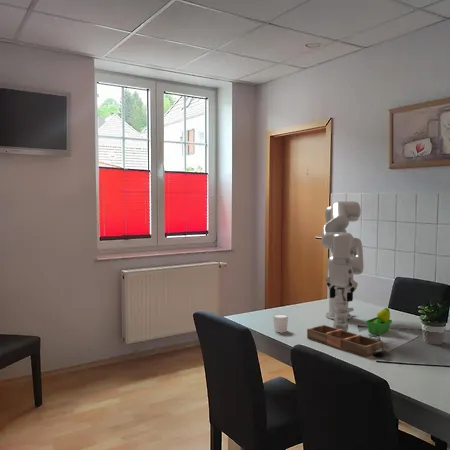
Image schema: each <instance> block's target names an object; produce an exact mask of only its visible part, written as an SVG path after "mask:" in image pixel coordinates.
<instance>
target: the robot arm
mask: <svg viewBox="0 0 450 450" xmlns="http://www.w3.org/2000/svg"><path fill="white" fill-rule="evenodd" d="M361 212H362V209H361V205H360V204H359V202H357V201H335V202H333V203H332V204H331V205H330V206H328V207H327V208H325V211H324V217H325V218H324V219H325V224H324V225H323V227H322V231H321V244H322V247H324V248H325V249H330V253H331V254H332V255H331V256H329V257H328V258H327V269H328V270H327V271H328V277H326V278H325V283H326V286H327V287H328V312H326V314H325V317H326V318H327V319H330V320H334V317H335V310H334V302H333V299H334V297H335V295H336V294H337V292H336V291H337V288H345V295H346V296H347V302H348V303H349V302H353V301H354V300H353V299H354V293H355V291H356V290H357V287H358V285H359V283H358V282H356V281H355V280H354V275H356V276H357V275H361V274H363V271H364V268H365V267H364V254H363V253H364V250H363V244H362V240H361V239H360V238H358V237H354V236H353V235H352V233H350V232H347V230H346V229H347V227H348V226H349V224H350V223H351V222H357V221H358V220H359V218H360V217H361V214H362V213H361ZM354 310H355V309H354V307H349V306H348V307H347V321H348V320H350V319H352V315H351V314H350V312H354Z"/></svg>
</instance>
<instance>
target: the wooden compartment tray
mask: <svg viewBox="0 0 450 450" xmlns="http://www.w3.org/2000/svg"><path fill="white" fill-rule="evenodd" d="M306 333H307V335H306V337H307V339H309V340H312V341H315V342H318V343H321V344H324V345H326V346H329V347H333V348H335V349H338V350H341V351H345V352H347V353H352V354H354V355H357V356H360V357H364V358H367V357H371V356H374V355H375V354H374V352H375V351H376V350H378V349H380V348H382V349H383V344H384V343H383V341H382V340H379V339H378V340H377V339H374V338H370V337H367V336H365V335H364V336H363V335H361V334H357V333H354V332H349V331H343V330H341V329H336V328H333V326H329V325H325V324H322V325H319V326H313V327H310V328H306ZM373 354H374V355H373Z"/></svg>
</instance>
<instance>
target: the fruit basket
mask: <svg viewBox="0 0 450 450" xmlns="http://www.w3.org/2000/svg"><path fill="white" fill-rule="evenodd" d="M390 311H391V310H390V309H389V307H388V308H387V307H384V308H383V309H381V310H380V311H378V312H377V313H376V317H373V318H370V319H368V320H366V321H365V324H366V326H367V329H368V333H371V334H376V335H381V334H384V333H386V332H389V330H390V327H391V324H392V321H393V320H392V319H390V317H391V312H390Z"/></svg>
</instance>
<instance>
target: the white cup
mask: <svg viewBox="0 0 450 450" xmlns="http://www.w3.org/2000/svg"><path fill="white" fill-rule="evenodd" d="M272 318H273V327H274V328H273V329H274V333H278V332H280V334H283V332H285V333H287V331H288V321H289V316H288V314H280V313H278V314H273V317H272Z"/></svg>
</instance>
